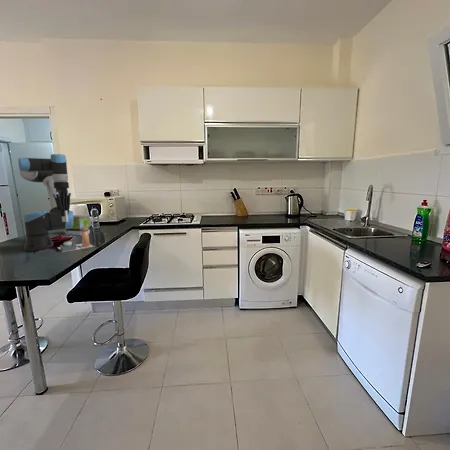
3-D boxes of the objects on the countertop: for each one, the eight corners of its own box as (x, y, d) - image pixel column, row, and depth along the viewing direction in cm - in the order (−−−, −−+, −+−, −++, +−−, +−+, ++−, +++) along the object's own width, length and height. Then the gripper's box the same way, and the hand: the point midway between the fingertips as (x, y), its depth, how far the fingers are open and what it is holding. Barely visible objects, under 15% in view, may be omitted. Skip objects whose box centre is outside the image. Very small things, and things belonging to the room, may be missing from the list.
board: (62, 253, 157) (62, 251, 157) (57, 249, 167) (57, 247, 167) (94, 248, 169) (94, 246, 169) (88, 244, 179) (88, 242, 179)
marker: (83, 247, 166) (81, 229, 164) (81, 246, 169) (79, 228, 167) (90, 246, 169) (88, 228, 167) (88, 245, 172) (86, 227, 170)
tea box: (90, 233, 215) (88, 215, 212) (80, 235, 205) (78, 216, 203) (75, 232, 219) (73, 214, 216) (65, 234, 209) (63, 216, 207)
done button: (64, 247, 159) (64, 243, 158) (63, 246, 162) (62, 242, 162) (73, 246, 162) (72, 242, 161) (71, 245, 165) (70, 241, 165)
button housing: (63, 251, 157) (62, 247, 157) (60, 249, 162) (60, 245, 162) (76, 249, 162) (75, 245, 162) (73, 247, 167) (72, 243, 167)
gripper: (59, 181, 149) (64, 223, 153) (73, 181, 161) (77, 219, 165) (46, 181, 149) (51, 223, 153) (61, 181, 162) (66, 219, 166)
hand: (65, 221), depth 159 cm, fingers closed
